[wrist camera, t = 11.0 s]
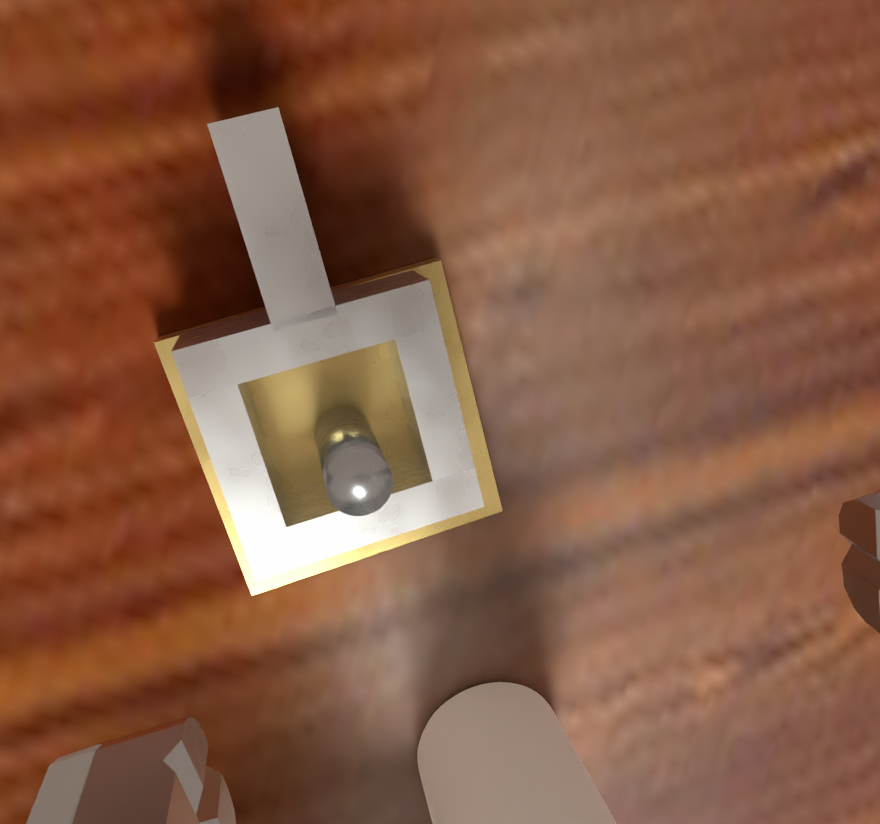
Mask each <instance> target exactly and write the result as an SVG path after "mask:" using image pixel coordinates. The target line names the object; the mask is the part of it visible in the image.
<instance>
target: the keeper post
mask: <svg viewBox="0 0 880 824" xmlns="http://www.w3.org/2000/svg"><path fill="white" fill-rule="evenodd" d="M408 270H413V271H415V272H417V273H419V274H420V275H422V276H424V277H426V278H427V279H429V280H430V284H431V288H432V292H433V297H434V301H435V305H436V309H437V313H438V317H439V321H440V325H441V330H442V334H443V338H444V342H445V346H446V350H447V354H448V358H449V363H450V367H451V371H452V375H453V379H454V383H455V387H456V392H457V396H458V400H459V404H460V408H461V412H462V416H463V420H464V425H465V429H466V433H467V437H468V441H469V445H470V449H471V453H472V458H473V462H474V466H475V470H476V474H477V478H478V482H479V487H480V491H481V495H482V499H483V503H484V507H482V508H479V509H476V510H473V511H470V512H467V513H464V514H461V515H458V516H455V517H452V518H449V519H445V520H442V521H439V522H436V523H433V524H430V525H427V526H424V527H421V528H418V529H415V530H412V531H408V532H405V533H402V534H399V535H396V536H393V537H390V538H387V539H384V540H381V541H378V542H375V543H371V544H368V545H365V546H362V547H359V548H356V549H353V550H350V551H347V552H344V553H341V554H338V555H334V556H331V557H328V558H325V559H322V560H319V561H316V562H313V563H310V564H307V565H304V566H301V567H297V568H294V569H291V570H288V571H285V572H282V573H279V574H276V575H273V576H270V577H267V578H264V579H260V580H257V581H255V579H254V576H253V573H252V571H251V568H250V565H249V563H248V560H247V557H246V554H245V552H244V549H243V546H242V543H241V541H240V538H239V535H238V533H237V530H236V527H235V524H234V522H233V519H232V516H231V514H230V511H229V508H228V505H227V503H226V500H225V497H224V494H223V492H222V489H221V486H220V484H219V481H218V478H217V475H216V473H215V470H214V467H213V465H212V462H211V459H210V456H209V454H208V451H207V448H206V446H205V443H204V440H203V437H202V435H201V432H200V429H199V426H198V424H197V421H196V418H195V416H194V413H193V410H192V407H191V405H190V402H189V399H188V397H187V394H186V391H185V388H184V386H183V383H182V380H181V377H180V375H179V372H178V369H177V367H176V364H175V361H174V358H173V356H172V353H171V351H172V349H173V347H174V345H175V343H176V341H177V339H178V337H179V336H180V334H181V333H183V332H186V331H190V330H194V329H197V328H201V327H204V326H208V325H212V324H215V323H219V322H223V321H226V320H230V319H234V318H237V317H241V316H244V315H248V314H252V313H255V312H259V311H263V310H266V307H265V306H264V307H261V308H257V309H254V310H250V311H247V312H243V313H240V314H236V315H233V316H229V317H226V318H222V319H219V320H215V321H212V322H208V323H205V324H201V325H198V326H194V327H191V328H187V329H184V330H180V331H177V332H173V333H170V334H166V335H163V336H159V337H157V339H156V340H155V342H154V344H155V347H156V349H157V352H158V354H159V357H160V360H161V362H162V365H163V367H164V370H165V372H166V375H167V378H168V380H169V383H170V385H171V388H172V391H173V393H174V396H175V398H176V401H177V404H178V406H179V409H180V411H181V414H182V416H183V419H184V422H185V424H186V427H187V429H188V432H189V435H190V437H191V440H192V442H193V445H194V448H195V450H196V453H197V455H198V458H199V460H200V463H201V466H202V468H203V471H204V473H205V476H206V479H207V481H208V484H209V486H210V489H211V491H212V494H213V497H214V499H215V502H216V504H217V507H218V510H219V512H220V515H221V517H222V520H223V523H224V525H225V528H226V530H227V533H228V535H229V538H230V541H231V543H232V546H233V548H234V551H235V554H236V556H237V559H238V561H239V564H240V567H241V569H242V572H243V574H244V577H245V579H246V582H247V585H248V587H249V590H250V592H251V595H252V596H253V595H256V594H259V593H262V592H265V591H268V590H271V589H274V588H277V587H280V586H283V585H286V584H288V583H291V582H294V581H297V580H300V579H303V578H306V577H309V576H312V575H315V574H318V573H321V572H324V571H327V570H330V569H333V568H336V567H339V566H342V565H345V564H348V563H351V562H354V561H357V560H360V559H363V558H366V557H369V556H372V555H374V554H377V553H380V552H383V551H386V550H389V549H392V548H395V547H398V546H401V545H404V544H407V543H410V542H413V541H416V540H419V539H422V538H425V537H428V536H431V535H434V534H437V533H440V532H443V531H446V530H449V529H452V528H455V527H457V526H460V525H463V524H466V523H469V522H472V521H475V520H478V519H481V518H484V517H487V516H490V515H493V514H496V513H499V512H502V511H503V510H502V506H501V502H500V498H499V494H498V490H497V486H496V482H495V478H494V474H493V470H492V466H491V462H490V458H489V453H488V449H487V445H486V441H485V437H484V433H483V429H482V425H481V421H480V417H479V413H478V409H477V405H476V401H475V397H474V393H473V388H472V384H471V380H470V376H469V372H468V368H467V364H466V360H465V356H464V352H463V348H462V344H461V340H460V336H459V332H458V328H457V323H456V319H455V315H454V311H453V307H452V303H451V299H450V295H449V291H448V287H447V283H446V279H445V275H444V271H443V267H442V263H441V260H439V259H437V258H432V259H428V260H425V261H422V262H418V263H415V264H411V265H408V266H404V267H401V268H397V269H394V270H390V271H387V272H383V273H380V274H376V275H373V276H369V277H366V278H362V279H359V280H355V281H352V282H348V283H345V284H341V285H338V286H334V287H331V288H330V289H331V292H332V291H335V290H339V289H343V288H346V287H350V286H353V285H357V284H361V283H364V282H368V281H372V280H375V279H379V278H382V277H386V276H390V275H393V274H397V273H401V272H404V271H408ZM247 385H248V388H249V391H250V394H251V397H252V400H253V403H254V406H255V409H256V412H257V415H258V418H259V421H260V424H261V427H262V430H263V433H264V436H265V439H266V442H267V445H268V447H269V450H270V453H271V456H272V459H273V462H274V465H275V468H276V471H277V474H278V477H279V480H280V483H281V486H282V489H283V492H287V491H290V490H294V489H297V488H300V487H303V486H307V485H310V484H313V483H316V482H320V481H323V480H324V482H325V487H326V491H327V495H328V498H329V500H330V502H331V503H332V505H333V506H334V507H335V508H336V509H338V510H339V511H340V512H342V513H344V514H347V515H351V516H365V515H368V514H371V513H374V512H375V511H377V510H379V509H380V508H381V507H382V506H383V505H384V504H385V503H386V502H387V500H388V499H389V497H390V495H391V492H392V488H393V478H392V474H391V471H390V469H389V467H388V465H387V462H386V461H387V460H391V459H394V458H397V457H400V456H403V455H407V454H410V453H413V452H415V448H414V444H413V440H412V437H411V433H410V429H409V426H408V422H407V418H406V414H405V411H404V407H403V403H402V399H401V396H400V392H399V388H398V385H397V381H396V377H395V373H394V370H393V366H392V362H391V359H390V355H389V351H388V347H387V344H386V342H383V343H380V344H376V345H373V346H369V347H366V348H362V349H359V350H355V351H352V352H349V353H345V354H342V355H338V356H335V357H331V358H328V359H324V360H321V361H317V362H314V363H310V364H307V365H303V366H300V367H296V368H293V369H289V370H286V371H282V372H279V373H275V374H272V375H269V376H265V377H262V378H258V379H255V380H251V381H248V382H247Z"/></svg>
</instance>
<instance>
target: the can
mask: <svg viewBox="0 0 880 824" xmlns="http://www.w3.org/2000/svg"><path fill="white" fill-rule="evenodd" d="M417 762H418V769H419V773H420V777H421V781H422V785H423V789H424V793H425V797H426V801H427V805H428V808H429V812H430V816H431V820H432V823H433V824H617V823H616V822H615V820H614V818H613V816H612V814H611V813H610V811H609V809H608V807H607V805H606V804H605V802H604V800H603V798H602V796H601V795H600V793H599V791H598V789H597V787H596V786H595V784H594V782H593V780H592V778H591V777H590V775H589V773H588V771H587V770H586V768H585V766H584V764H583V762H582V761H581V759H580V757H579V755H578V753H577V752H576V750H575V748H574V746H573V745H572V743H571V741H570V739H569V737H568V736H567V734H566V732H565V730H564V729H563V727H562V725H561V723H560V722H559V720H558V718H557V716H556V715H555V713H554V711H553V710H552V708H551V707H550V705H549V704H548V702H547V701H546V700H545V699H544V698H543V697H542V696H541V695H540V694H538V693H537V692H535V691H534V690H532V689H530V688H528V687H526V686H523V685H520V684H515V683H509V682H493V683H485V684H480V685H476V686H473V687H470V688H468V689H466V690H464V691H462V692H460V693H458V694H456V695H455V696H453V697H451V698H450V699H449V700H447V701H446V702H445V703H444V704H442V705H441V706H440V707H439V708H438V709H437V710H436V712H435V713H434V714H433V715H432V717H431V718H430V720H429V721H428V723H427V725H426V727H425V729H424V731H423V733H422V736H421V738H420V741H419V745H418V750H417Z"/></svg>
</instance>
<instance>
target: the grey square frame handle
mask: <svg viewBox="0 0 880 824" xmlns="http://www.w3.org/2000/svg"><path fill="white" fill-rule="evenodd" d="M207 125H208V128H209V131H210V134H211V137H212V141H213V144H214V147H215V150H216V153H217V156H218V159H219V163H220V166H221V169H222V172H223V175H224V178H225V181H226V185H227V188H228V191H229V194H230V197H231V200H232V203H233V207H234V210H235V213H236V216H237V219H238V222H239V225H240V229H241V232H242V235H243V238H244V241H245V244H246V247H247V251H248V254H249V257H250V260H251V263H252V266H253V269H254V273H255V276H256V279H257V282H258V285H259V288H260V291H261V295H262V298H263V301H264V304H265V307H266V310H263V311H259V312H255V313H252V314H248V315H244V316H241V317H237V318H234V319H230V320H226V321H223V322H219V323H215V324H212V325H208V326H204V327H201V328H197V329H194V330H190V331H186V332H183V333H181V334H180V336H179V337H178V339H177V341H176V343H175V345H174V347H173V349H172V351H171V353H172V356H173V358H174V361H175V364H176V367H177V369H178V372H179V375H180V377H181V380H182V383H183V386H184V388H185V391H186V394H187V397H188V399H189V402H190V405H191V407H192V410H193V413H194V416H195V418H196V421H197V424H198V426H199V429H200V432H201V435H202V437H203V440H204V443H205V446H206V448H207V451H208V454H209V456H210V459H211V462H212V465H213V467H214V470H215V473H216V475H217V478H218V481H219V484H220V486H221V489H222V492H223V494H224V497H225V500H226V503H227V505H228V508H229V511H230V514H231V516H232V519H233V522H234V524H235V527H236V530H237V533H238V535H239V538H240V541H241V543H242V546H243V549H244V552H245V554H246V557H247V560H248V563H249V565H250V568H251V571H252V573H253V576H254V579H255V581H257V580H260V579H264V578H267V577H270V576H273V575H276V574H279V573H282V572H285V571H288V570H291V569H294V568H297V567H301V566H304V565H307V564H310V563H313V562H316V561H319V560H322V559H325V558H328V557H331V556H334V555H338V554H341V553H344V552H347V551H350V550H353V549H356V548H359V547H362V546H365V545H368V544H371V543H375V542H378V541H381V540H384V539H387V538H390V537H393V536H396V535H399V534H402V533H405V532H408V531H412V530H415V529H418V528H421V527H424V526H427V525H430V524H433V523H436V522H439V521H442V520H445V519H449V518H452V517H455V516H458V515H461V514H464V513H467V512H470V511H473V510H476V509H479V508H482V507H484V503H483V499H482V495H481V491H480V487H479V482H478V478H477V474H476V470H475V466H474V462H473V458H472V453H471V449H470V445H469V441H468V437H467V433H466V429H465V425H464V420H463V416H462V412H461V408H460V404H459V400H458V396H457V392H456V387H455V383H454V379H453V375H452V371H451V367H450V363H449V358H448V354H447V350H446V346H445V342H444V338H443V334H442V330H441V325H440V321H439V317H438V313H437V309H436V305H435V301H434V297H433V292H432V288H431V284H430V280H429V279H427V278H426V277H424V276H422V275H420V274H419V273H417V272H415V271H413V270H408V271H404V272H401V273H397V274H393V275H390V276H386V277H382V278H379V279H375V280H372V281H368V282H364V283H361V284H357V285H353V286H350V287H346V288H343V289H339V290H335V291H332V292H331V289H330V285H329V282H328V278H327V275H326V271H325V268H324V264H323V261H322V257H321V254H320V250H319V247H318V244H317V240H316V237H315V233H314V230H313V226H312V223H311V219H310V216H309V212H308V209H307V205H306V202H305V198H304V195H303V191H302V188H301V184H300V181H299V177H298V174H297V170H296V167H295V163H294V160H293V156H292V153H291V149H290V146H289V142H288V139H287V135H286V132H285V128H284V125H283V121H282V118H281V115H280V111H279V108H278V107H277V108H272V109H268V110H264V111H260V112H256V113H251V114H247V115H243V116H239V117H235V118H231V119H226V120H222V121H218V122H214V123H210V124H207ZM383 342H386V344H387V347H388V351H389V355H390V359H391V362H392V366H393V370H394V373H395V377H396V381H397V385H398V388H399V392H400V396H401V399H402V403H403V407H404V411H405V414H406V418H407V422H408V426H409V429H410V433H411V437H412V440H413V444H414V448H415V452H413V453H410V454H407V455H403V456H400V457H397V458H394V459H391V460H387V461H386V462H387V465H388V467H389V469H390V471H391V474H392V478H393V488H392V492H391V495H390V497H389V499H388V500H387V502H386V503H385V504H384V505H383V506H382V507H381V508H380V509H379V510H377V511H375V512H374V513H371V514H368V515H365V516H351V515H347V514H344V513H342V512H340V511H339V510H338V509H336V508H335V507H334V506H333V505H332V503H331V502H330V500H329V498H328V495H327V491H326V487H325V482H324V480H323V481H320V482H316V483H313V484H310V485H307V486H303V487H300V488H297V489H294V490H290V491H287V492H283V489H282V486H281V483H280V480H279V477H278V474H277V471H276V468H275V465H274V462H273V459H272V456H271V453H270V450H269V447H268V445H267V442H266V439H265V436H264V433H263V430H262V427H261V424H260V421H259V418H258V415H257V412H256V409H255V406H254V403H253V400H252V397H251V394H250V391H249V388H248V385H247V382H248V381H251V380H255V379H258V378H262V377H265V376H269V375H272V374H275V373H279V372H282V371H286V370H289V369H293V368H296V367H300V366H303V365H307V364H310V363H314V362H317V361H321V360H324V359H328V358H331V357H335V356H338V355H342V354H345V353H349V352H352V351H355V350H359V349H362V348H366V347H369V346H373V345H376V344H380V343H383Z"/></svg>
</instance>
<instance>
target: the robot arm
mask: <svg viewBox="0 0 880 824" xmlns="http://www.w3.org/2000/svg"><path fill="white" fill-rule="evenodd" d="M839 528H840V534H841V535H842V536H843V537H844V538H845V539H847V540H848V541H849V542H850V543H851V544H852V545H851V547H850V549H849V551H848V553H847V555H846V556H845V558H844V560H843V562H842V571H843V580H844V587H845V590H846V592H847V594H848V596H849V598H850V600H851V603H852V605H853V607H854V608H855V610H856V611H857V612H858V613H859V615H860V616H861V617H862V618H863V620H864V621H865V622H866V623H867V624H869V625H870V626H871V627H872V628H873V629H875V630H876V631H877V632H878V633H880V490H879V491H876V492H873V493H870V494H867V495H865V496H862V497H859V498H856V499H853V500H850V501H847V502H844V503H843V505H842V508H841V511H840V514H839ZM207 752H208V741H207V739H206V737H205V735H204V733H203V731H202V729H201V727H200V725H199V723H198V721H197V720H195V719H193V718H192V717H186V718H183V719H180V720H177V721H173V722H170V723H167V724H163V725H160V726H157V727H154V728H150V729H147V730H144V731H141V732H137V733H134V734H131V735H127V736H124V737H121V738H118V739H114V740H111V741H108V742H105V743H103V744H102V745H95V746H92V747H89V748H86V749H83V750H80V751H77V752H74V753H71V754H68V755H65V756H62V757H59V758H58V759H57V760H55V761H54V762H53V763H52V764H50V766H49V768H48V770H47V772H46V775H45V777H44V780H43V782H42V785H41V787H40V790H39V792H38V795H37V797H36V800H35V802H34V805H33V807H32V810H31V812H30V815H29V818H28V820H27V823H26V824H236V819H235V810H234V807H233V803H232V800H231V796H230V792H229V789H228V787H227V785H226V782H225V780H224V777H223V775H222V773H220V772H218V771H217V770H215V769H213V768H211V767H209V766H207V765H206V760H207Z"/></svg>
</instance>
